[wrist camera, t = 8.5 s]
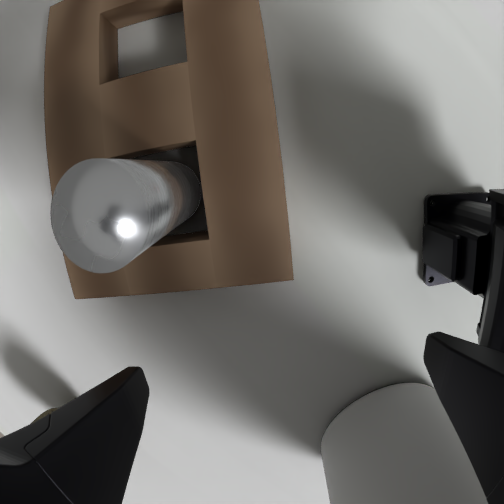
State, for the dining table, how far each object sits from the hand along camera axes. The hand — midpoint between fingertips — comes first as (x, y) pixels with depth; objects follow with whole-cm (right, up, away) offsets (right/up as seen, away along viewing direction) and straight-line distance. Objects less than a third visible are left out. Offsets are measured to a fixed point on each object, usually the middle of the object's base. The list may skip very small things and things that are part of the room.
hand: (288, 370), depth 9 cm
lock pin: (-6, +7, +11) cm, 14 cm away
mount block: (-7, +12, +9) cm, 17 cm away
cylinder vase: (+11, -13, +16) cm, 24 cm away
